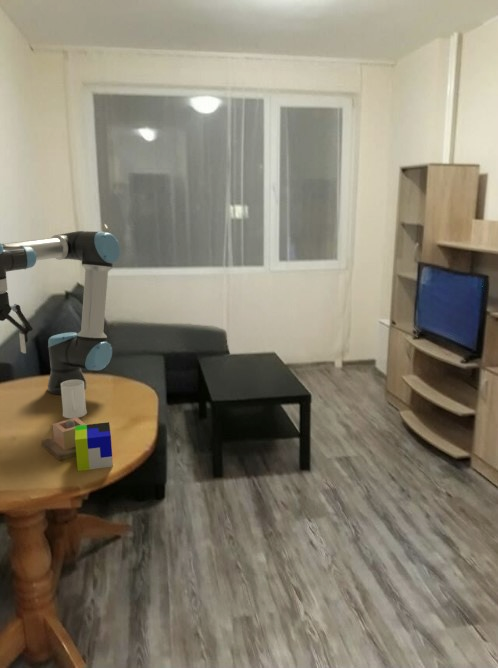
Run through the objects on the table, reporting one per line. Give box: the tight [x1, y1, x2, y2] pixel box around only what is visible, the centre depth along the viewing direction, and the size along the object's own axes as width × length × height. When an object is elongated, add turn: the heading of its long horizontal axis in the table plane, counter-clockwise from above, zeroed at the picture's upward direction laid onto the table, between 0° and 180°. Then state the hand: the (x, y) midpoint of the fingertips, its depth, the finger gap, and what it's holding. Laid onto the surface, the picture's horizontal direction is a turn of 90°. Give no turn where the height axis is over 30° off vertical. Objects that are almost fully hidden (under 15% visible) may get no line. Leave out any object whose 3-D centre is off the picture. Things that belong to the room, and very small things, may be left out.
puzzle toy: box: [75, 422, 114, 472], centre depth 165 cm, size 10×10×10 cm
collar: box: [52, 417, 88, 450], centre depth 174 cm, size 8×8×6 cm
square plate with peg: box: [41, 419, 77, 462], centre depth 174 cm, size 14×14×8 cm
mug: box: [60, 380, 88, 419], centre depth 198 cm, size 12×8×12 cm
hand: (2, 356), depth 179 cm, fingers open, 13 cm apart
